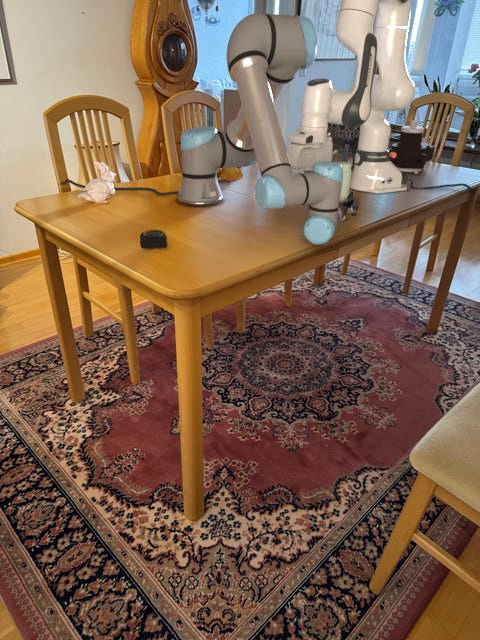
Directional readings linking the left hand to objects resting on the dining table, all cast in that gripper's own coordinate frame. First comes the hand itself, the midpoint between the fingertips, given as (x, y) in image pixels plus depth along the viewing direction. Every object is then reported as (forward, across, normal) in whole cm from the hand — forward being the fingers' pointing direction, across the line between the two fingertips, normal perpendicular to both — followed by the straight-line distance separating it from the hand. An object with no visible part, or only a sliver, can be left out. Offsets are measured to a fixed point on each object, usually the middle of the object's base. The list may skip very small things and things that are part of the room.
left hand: (343, 195), depth 144 cm
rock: (+115, -16, -6) cm, 116 cm away
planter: (+74, -13, -6) cm, 75 cm away
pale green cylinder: (-5, 0, -6) cm, 8 cm away
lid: (+8, -14, +4) cm, 16 cm away
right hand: (+8, -14, +2) cm, 16 cm away
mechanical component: (+83, +17, -6) cm, 85 cm away
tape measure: (-51, -39, -6) cm, 64 cm away
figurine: (-21, -78, -6) cm, 81 cm away
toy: (+28, -50, -6) cm, 58 cm away
